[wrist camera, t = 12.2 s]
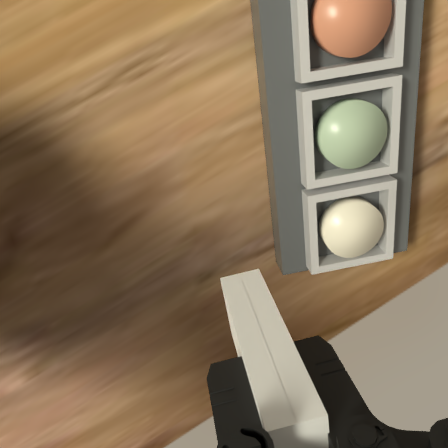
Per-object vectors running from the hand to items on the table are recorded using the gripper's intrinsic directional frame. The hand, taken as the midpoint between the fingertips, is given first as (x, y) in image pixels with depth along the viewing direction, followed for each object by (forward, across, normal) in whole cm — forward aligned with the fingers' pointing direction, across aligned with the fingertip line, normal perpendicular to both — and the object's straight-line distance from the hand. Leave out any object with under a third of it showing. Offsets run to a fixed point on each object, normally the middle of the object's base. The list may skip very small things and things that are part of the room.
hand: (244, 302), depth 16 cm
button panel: (+26, +14, -1) cm, 30 cm away
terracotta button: (+23, +15, +8) cm, 28 cm away
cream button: (+22, +14, -11) cm, 29 cm away
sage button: (+22, +14, -1) cm, 27 cm away
